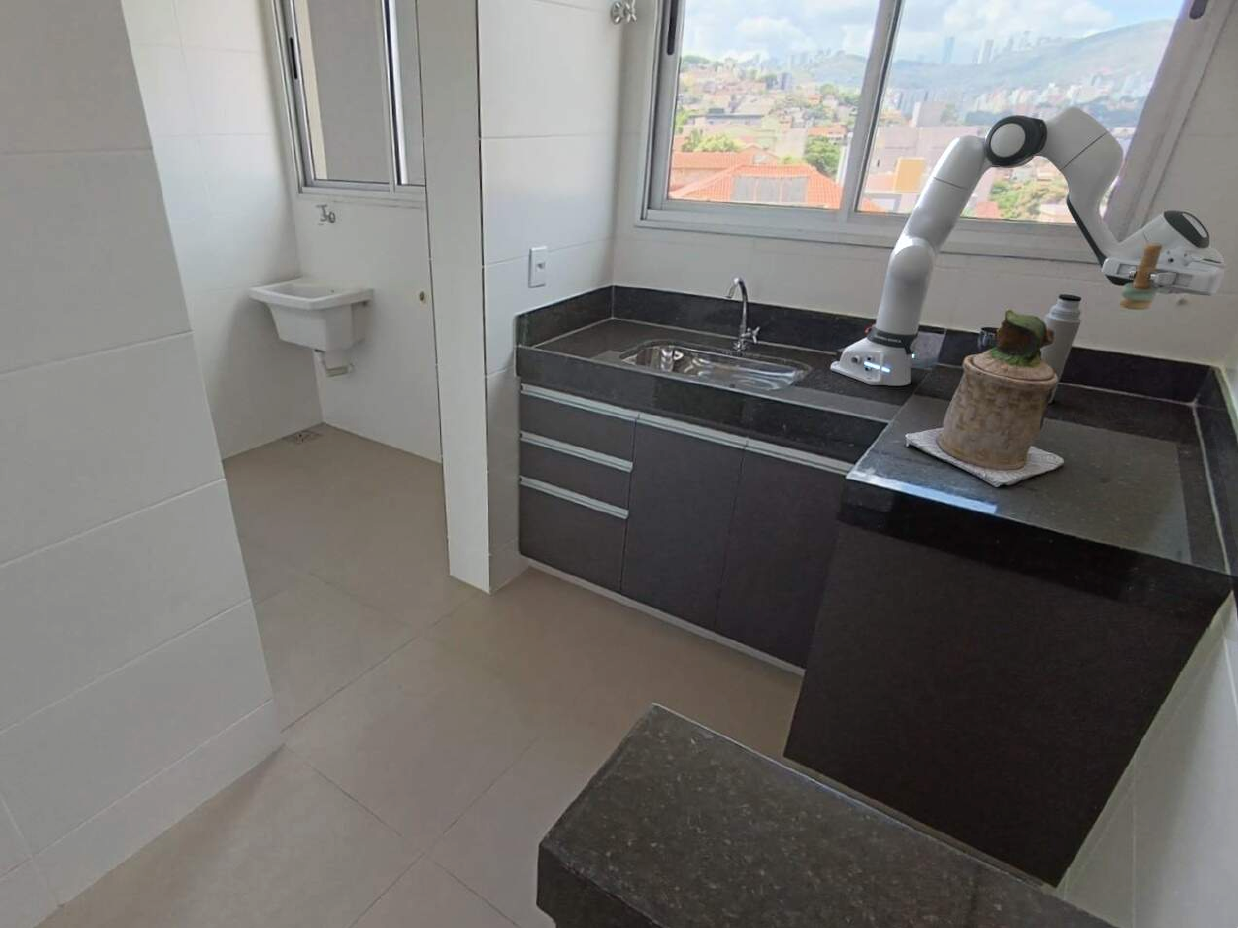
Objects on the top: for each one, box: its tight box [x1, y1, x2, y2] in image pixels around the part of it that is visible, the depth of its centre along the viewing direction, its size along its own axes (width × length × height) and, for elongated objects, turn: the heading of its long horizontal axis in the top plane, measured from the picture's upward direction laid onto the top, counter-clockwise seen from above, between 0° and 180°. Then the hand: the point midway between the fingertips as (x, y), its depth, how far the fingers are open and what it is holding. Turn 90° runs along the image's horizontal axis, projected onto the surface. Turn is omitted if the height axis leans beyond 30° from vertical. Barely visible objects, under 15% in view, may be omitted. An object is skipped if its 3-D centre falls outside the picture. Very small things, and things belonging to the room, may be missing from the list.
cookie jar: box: [904, 308, 1065, 488], centre depth 143 cm, size 25×25×32 cm
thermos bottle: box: [1040, 293, 1082, 404], centre depth 179 cm, size 8×8×28 cm
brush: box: [1119, 243, 1163, 311], centre depth 137 cm, size 6×6×12 cm
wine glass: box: [977, 326, 1000, 354], centre depth 192 cm, size 8×8×15 cm
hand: (1142, 276), depth 136 cm, fingers closed on brush, 3 cm apart
